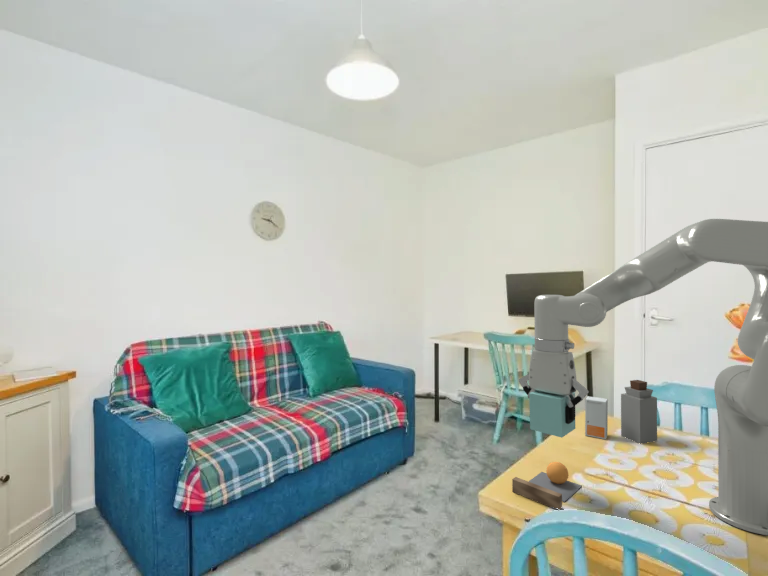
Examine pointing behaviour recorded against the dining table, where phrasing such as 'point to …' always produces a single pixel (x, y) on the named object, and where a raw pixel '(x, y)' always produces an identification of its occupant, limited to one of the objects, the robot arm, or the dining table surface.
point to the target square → (556, 485)
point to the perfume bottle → (639, 413)
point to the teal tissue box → (549, 414)
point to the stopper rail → (537, 493)
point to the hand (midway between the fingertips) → (551, 417)
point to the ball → (557, 472)
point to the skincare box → (596, 417)
